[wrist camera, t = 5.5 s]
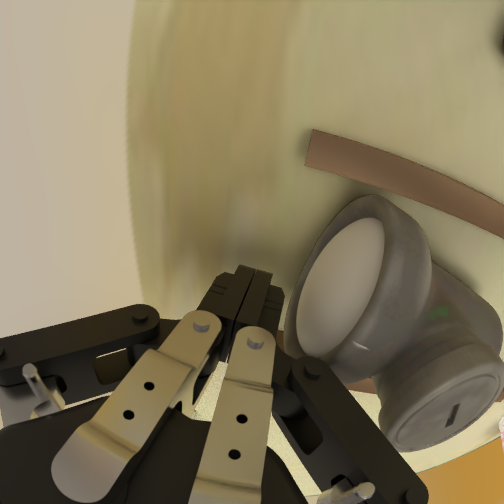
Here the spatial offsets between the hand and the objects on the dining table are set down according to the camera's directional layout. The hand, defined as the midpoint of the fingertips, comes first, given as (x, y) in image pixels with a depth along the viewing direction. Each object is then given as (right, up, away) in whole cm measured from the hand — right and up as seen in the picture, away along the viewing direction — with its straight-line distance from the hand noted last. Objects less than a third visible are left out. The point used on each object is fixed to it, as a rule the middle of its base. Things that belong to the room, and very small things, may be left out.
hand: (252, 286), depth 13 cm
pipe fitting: (+9, 0, +3) cm, 9 cm away
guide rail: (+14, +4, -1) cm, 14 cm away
